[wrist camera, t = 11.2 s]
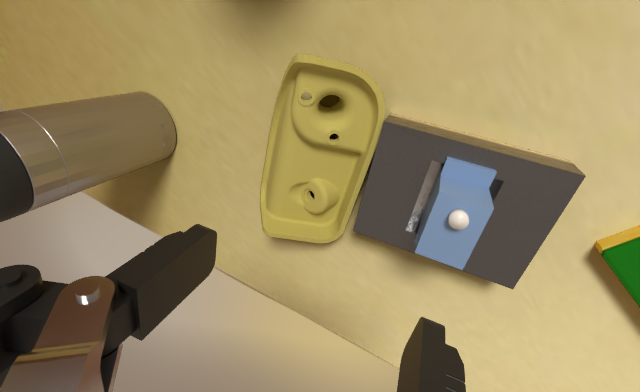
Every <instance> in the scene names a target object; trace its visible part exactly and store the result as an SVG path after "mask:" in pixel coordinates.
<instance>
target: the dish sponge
mask: <svg viewBox="0 0 640 392" xmlns="http://www.w3.org/2000/svg"><path fill="white" fill-rule="evenodd" d="M595 247H596V248H597V250H598V251H599V252H600V254H601V255H602V256H603V258H604V259H605V260H606V262H607V263H608V265H609V266H610V267H611V269H612V270H613V271H614V273H615V274H616V275H617V277H618V278H619V280H620V281H621V282H622V284H623V285H624V286H625V288H626V289H627V290H628V292H629V293H630V295H631V296H632V297H633V299H634V300H635V301H636V303H637V304H638V305H639V307H640V225H638V226H636V227H633V228H630V229H628V230H625V231H623V232H620V233H617V234H615V235H612V236H609V237H607V238H604V239H601V240H599V241H597V242H596V244H595Z"/></svg>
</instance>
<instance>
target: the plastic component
mask: <svg viewBox="0 0 640 392" xmlns="http://www.w3.org/2000/svg"><path fill="white" fill-rule="evenodd" d="M304 92H309V93H310V94H311V98H310V99H309V100H304V99H302V97H301V95H302V94H303V93H304ZM327 95H336V96H338V97H340V99H339V101H338V103H337V104H336V105H334V106H332V107H323V106H322V105H320V104H319V102H320V100H321V99H322V98H323V97H325V96H327ZM384 116H385V102H384V97H383V94H382V91H381V89H380V87H379V86H378V84H377V82H376V81H375V80H374V79H373V78H372V77H371V76H370V75H369V74H368V73H367V72H366V71H364V70H362V69H360V68H358V67H356V66H353V65H350V64H347V63H343V62H338V61H334V60H329V59H325V58H320V57H316V56H312V55H307V54H296V55H295V56H294V57H293V58H292V60H291V62H290V63H289V65H288V67H287V70H286V72H285V75H284V77H283V80H282V83H281V86H280V89H279V93H278V96H277V100H276V104H275V108H274V113H273V117H272V122H271V128H270V133H269V139H268V145H267V151H266V157H265V163H264V169H263V175H262V181H261V191H260V210H261V221H262V230H263V232H264V233H265V234H266V235H268V236H270V237H277V238H284V239H291V240H298V241H305V242H313V243H329V242H332V241H334V240H336V239H338V238H339V237H340V236H341V235H342V234H343V232H344V230H345V227H346V224H347V222H348V219H349V217H350V214H351V211H352V209H353V206H354V204H355V201H356V198H357V196H358V193H359V191H360V188H361V185H362V183H363V180H364V178H365V175H366V172H367V170H368V167H369V165H370V162H371V159H372V157H373V154H374V151H375V149H376V146H377V143H378V140H379V136H380V133H381V129H382V126H383V122H384ZM332 134H337V135H338V138H337V139H335V140H333V139H330V138H329V137H330V135H332ZM310 191H312V192H313V194H314V198H313V197H312V196H311V194H310Z"/></svg>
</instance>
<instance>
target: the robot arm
mask: <svg viewBox="0 0 640 392" xmlns="http://www.w3.org/2000/svg"><path fill="white" fill-rule="evenodd" d="M175 145H176V131H175V126H174V123H173V120H172V118H171V116H170V114H169V113H168V111H167V109H166V108H165V107H164V106H163V104H162V103H161V102H160V101H159V100H157V99H156V98H155V97H153V96H152V95H150V94H147V93H144V92H134V93H127V94H120V95H113V96H105V97H98V98H91V99H84V100H77V101H70V102H63V103H56V104H50V105H43V106H36V107H29V108H22V109H15V110H8V111H2V112H0V222H2V221H5V220H8V219H11V218H13V217H16V216H18V215H21V214H24V213H26V212H29V211H31V210H34V209H36V208H39V207H41V206H44V205H47V204H49V203H52V202H54V201H57V200H60V199H62V198H64V197H67V196H69V195H72V194H75V193H77V192H80V191H82V190H85V189H88V188H90V187H93V186H95V185H98V184H101V183H103V182H106V181H108V180H111V179H113V178H116V177H119V176H121V175H124V174H126V173H129V172H131V171H134V170H137V169H139V168H142V167H145V166H147V165H150V164H152V163H155V162H157V161H160V160H163V159H165V158H167V157H169V156H170V155H171V154H172V152H173V150H174V148H175ZM216 243H217V233H216V231H214V230H212V229H209V228H207V227H204V226H202V225H200V224H196V225H194V226H192V227H191V228H190V229H188V230H187V231H185V232H184V233H183V232H181V231H179V232H176V233H173V234H170V235H167V236H165V237H163V238H162V239H161V240H159V241H158V242H156V243H155V244H154V245H152V246H150V247H149V248H147V249H146V250H145V251H144V252H141V253H140V254H138V255H137V256H135V257H134V258H132V259H131V260H129V261H128V262H127V263H125V264H124V265H122V266H121V267H119V268H118V269H116V270H115V271H113V272H112V273H110V274H109V275H107V276H105V277H101V276H90V277H85V278H81V279H79V280H76V281H74V282H72V283H70V284H64V283H56V282H49V281H42V278H41V274H40V271H39V270H38V269H37V268H36V267H34V266H30V265H13V266H9V267H4V268H1V269H0V392H112V391H113V387H114V382H115V378H116V373H117V369H118V364H119V359H120V355H121V350H122V342H123V341H124V340H125V339H126V338H127V337H129V336H130V335H131V336H133V337H135V338H137V339H139V340H141V341H142V340H143V339H144V338H145V337H146V336H147V335H148V334H149V333H150V332H151V331H152V330H153V329H154V328H155V327H156V326H157V325H158V324H159V323H160V322H161V321H162V320H163V319H164V318H165V317H166V316H167V315H169V314H170V313H171V312H172V311H173V310H174V309H175V308H176V307H177V305H179V304H180V303H181V302H182V301H183V300H184V299H185V298H186V297H187V296H188V295H189V294H190V293H191V292H192V291H193V290H194V289H195V288H196V287H197V286H198V285H199V284H200V283H202V281H204V280H205V279H206V277H208V276H209V274H210V273H211V271H212V269H213V267H214V264H215V258H216ZM464 383H465V373H464V364H463V362H462V360H461V358H460V356H459V353H458V351H457V349H456V348H454V347H451V346H449V345H447V344H445V327H444V326H443V325H441V324H438V323H436V322H434V321H431V320H429V319H426V318H424V317H421V318H420V319H419V321H418V323H417V325H416V327H415V329H414V331H413V333H412V335H411V337H410V338H409V340H408V342H407V344H406V346H405V349H404V352H403V355H402V359H401V364H400V372H399V380H398V387H397V392H466V387H465V384H464Z"/></svg>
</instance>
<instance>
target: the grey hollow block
mask: <svg viewBox="0 0 640 392" xmlns="http://www.w3.org/2000/svg"><path fill="white" fill-rule="evenodd" d="M447 156H448V157H451V158H455V159H458V160H462V161H466V162H469V163H473V164H476V165H480V166H483V167H487V168H490V169H494V170H496V171H497V173H496V175H495V177H494V179H493V181H492V183H491V186H490V188H489V190H490V194H491V198H492V202H493V206H494V210H493V212H492V214H491V216H490V218H489V220H488V222H487V224H486V226H485V227H484V229H483V231H482V233H481V235H480V237H479V239H478V241H477V243H476V245H475V247H474V249H473V251H472V253H471V255H470V257H469V259H468V261H467V263H466V265H465V266H464V268H463V270H461V269H459V270H461V271H464V272H467V273H470V274H472V275H475V276H478V277H481V278H483V279H486V280H489V281H492V282H494V283H497V284H500V285H503V286H505V287H508V288H511V289H513V288H514V287H515V285H516V284H517V282H518V281H519V279H520V277H521V276H522V274H523V273H524V271H525V270H526V268H527V267H528V265H529V263H530V262H531V260H532V259H533V257H534V256H535V254H536V253H537V251H538V249H539V248H540V246H541V245H542V243H543V242H544V240H545V239H546V237H547V235H548V234H549V232H550V231H551V229H552V228H553V226H554V225H555V223H556V222H557V220H558V218H559V217H560V215H561V214H562V212H563V211H564V209H565V208H566V206H567V204H568V203H569V201H570V200H571V198H572V197H573V195H574V194H575V192H576V190H577V189H578V187H579V186H580V184H581V183H582V181H583V180H584V178H585V175H584V174H583V173H582V172H581V171H580V170H579V169H578V168H577V167H576V166H575V165H574V164H573V163H572V162H571V161H570V160H567V159H563V158H559V157H556V156H552V155H548V154H544V153H541V152H537V151H533V150H529V149H525V148H522V147H518V146H514V145H510V144H506V143H503V142H499V141H495V140H491V139H488V138H484V137H480V136H476V135H472V134H469V133H465V132H461V131H457V130H454V129H450V128H446V127H442V126H438V125H435V124H431V123H427V122H423V121H419V120H416V119H412V118H408V117H404V116H401V115H397V114H393V113H391V114H390V115H389V116H388V117H387V118H386V119H385V120H384V122H383V126H382V129H381V133H380V136H379V140H378V144H377V147H376V151H375V154H374V158H373V161H372V165H371V169H370V172H369V176H368V179H367V183H366V186H365V190H364V194H363V197H362V201H361V204H360V208H359V212H358V215H357V219H356V222H355V226H354V229H353V231H354V232H357V233H360V234H363V235H365V236H368V237H371V238H374V239H376V240H379V241H382V242H384V243H387V244H390V245H393V246H395V247H398V248H401V249H404V250H406V251H409V252H412V253H415V247H416V244H415V243H414V239H415V237H416V234H417V232H418V229H419V226H420V220H421V215H422V212H423V209H424V207H425V204H426V201H427V199H428V196H429V194H430V191H431V189H432V186H433V183H434V181H435V178H436V176H437V173H438V171H439V168H440V165H441V163H443V164H444V163H445V161H446V158H447ZM442 264H444V263H442ZM445 265H447V264H445ZM448 266H450V265H448ZM450 267H452V266H450ZM453 268H455V267H453ZM456 269H458V268H456Z"/></svg>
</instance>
